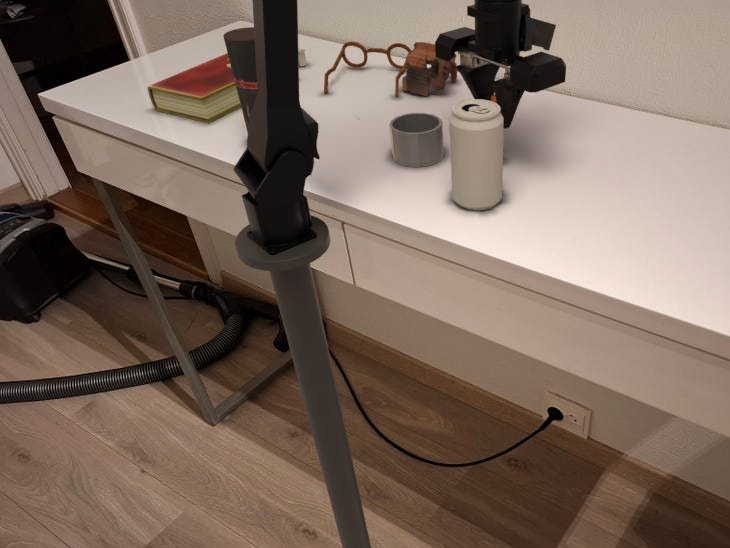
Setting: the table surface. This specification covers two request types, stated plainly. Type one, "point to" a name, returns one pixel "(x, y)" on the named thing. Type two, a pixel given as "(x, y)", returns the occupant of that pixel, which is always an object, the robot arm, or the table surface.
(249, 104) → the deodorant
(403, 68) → the glasses
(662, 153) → the table surface
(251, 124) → the robot arm
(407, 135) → the pen pot
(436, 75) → the brown jagged blocky figurine
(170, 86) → the hardcover book
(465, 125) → the beverage can
